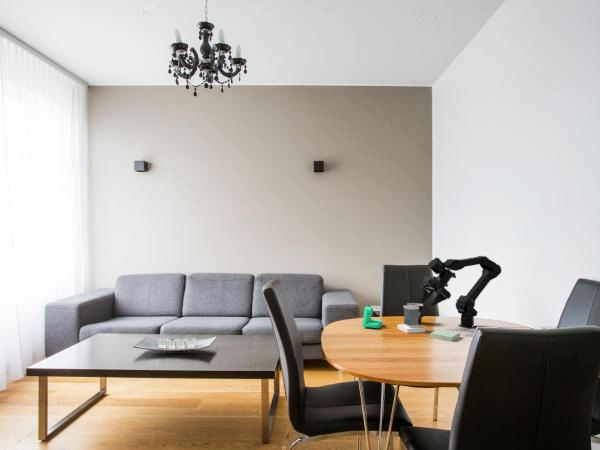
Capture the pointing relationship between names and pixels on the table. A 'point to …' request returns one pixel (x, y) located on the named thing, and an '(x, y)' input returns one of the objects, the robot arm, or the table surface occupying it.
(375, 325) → the camera mount
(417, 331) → the stand
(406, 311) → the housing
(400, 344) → the table surface
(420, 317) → the coffee mug
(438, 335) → the stand
